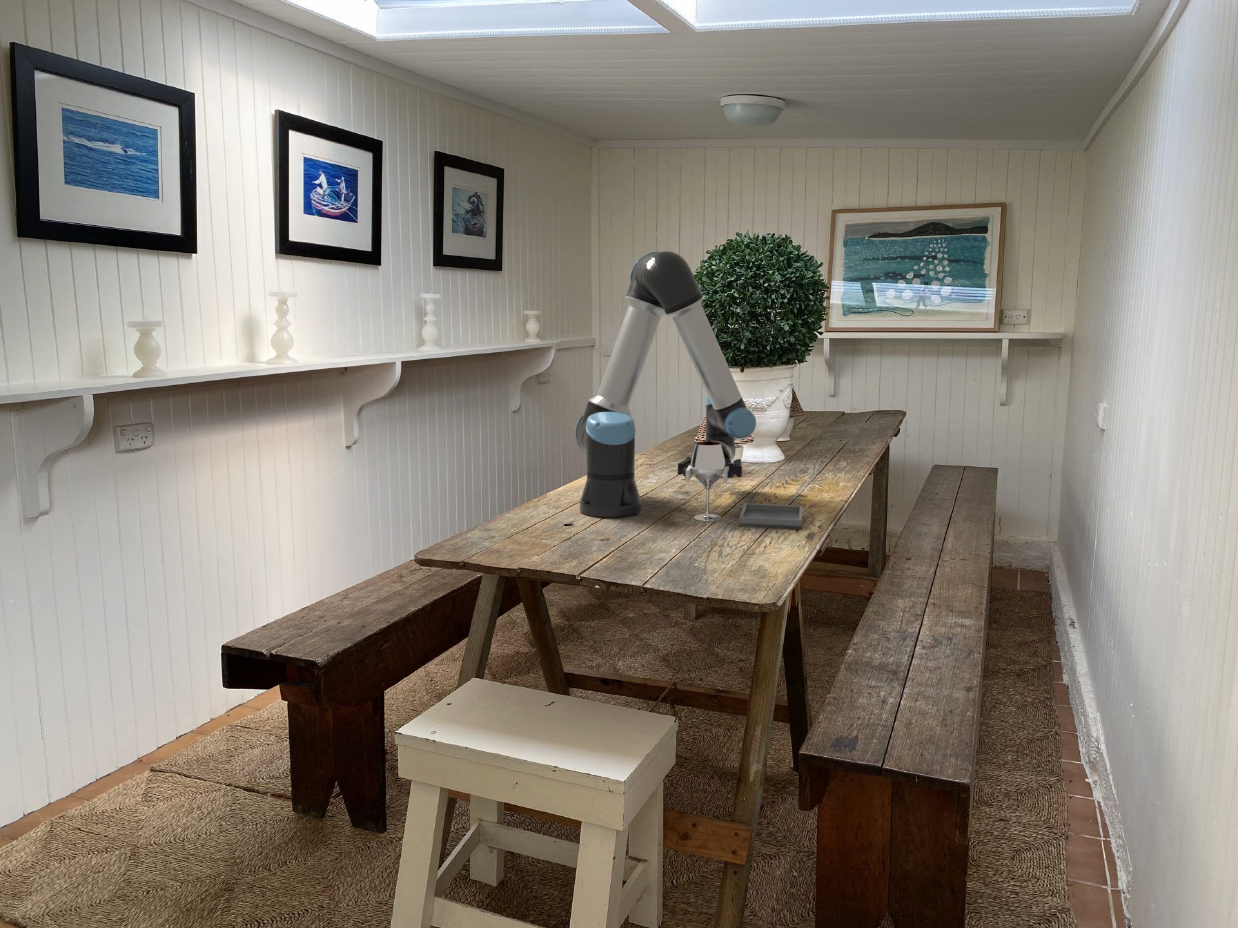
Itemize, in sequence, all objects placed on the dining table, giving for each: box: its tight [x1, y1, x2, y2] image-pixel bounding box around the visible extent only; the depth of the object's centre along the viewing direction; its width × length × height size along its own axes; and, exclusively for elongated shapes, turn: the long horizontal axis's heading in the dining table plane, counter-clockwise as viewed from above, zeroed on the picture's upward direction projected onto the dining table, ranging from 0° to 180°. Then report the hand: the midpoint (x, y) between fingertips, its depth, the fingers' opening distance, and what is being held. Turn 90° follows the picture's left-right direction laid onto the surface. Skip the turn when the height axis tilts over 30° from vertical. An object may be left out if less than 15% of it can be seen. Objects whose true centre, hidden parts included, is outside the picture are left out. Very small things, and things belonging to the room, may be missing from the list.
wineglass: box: [691, 440, 726, 523], centre depth 223 cm, size 8×8×18 cm
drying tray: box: [738, 502, 804, 530], centre depth 223 cm, size 14×14×2 cm
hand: (705, 476), depth 218 cm, fingers closed on wineglass, 8 cm apart
